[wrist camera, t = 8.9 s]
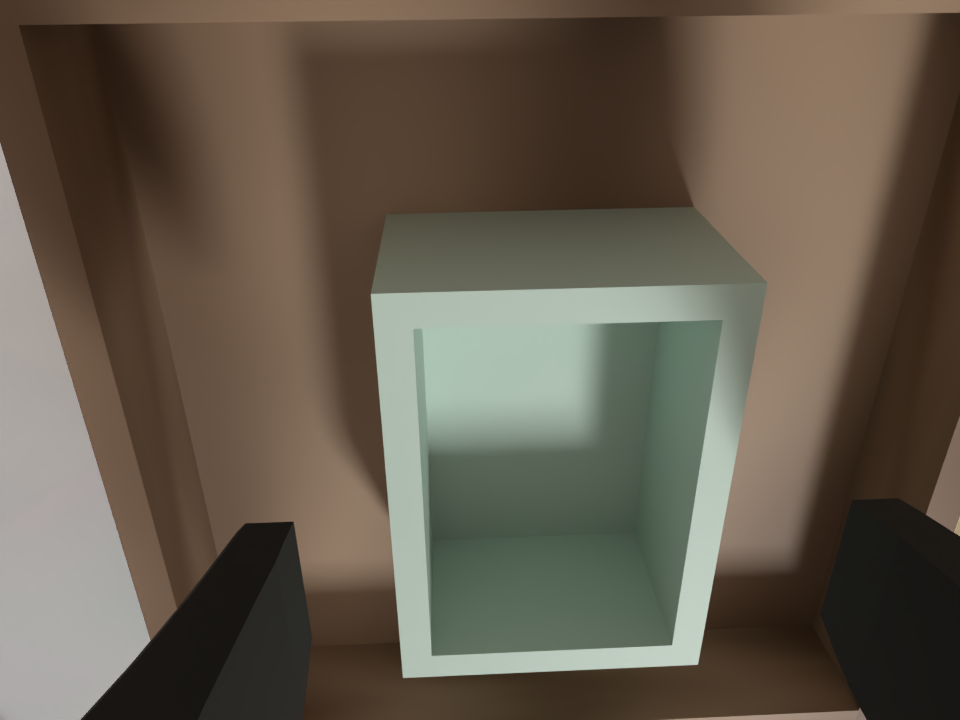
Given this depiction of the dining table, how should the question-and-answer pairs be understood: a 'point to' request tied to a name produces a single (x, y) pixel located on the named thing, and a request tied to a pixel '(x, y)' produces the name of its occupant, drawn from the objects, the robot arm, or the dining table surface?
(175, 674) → the robot arm
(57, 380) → the dining table surface
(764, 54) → the walnut crate
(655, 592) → the box
